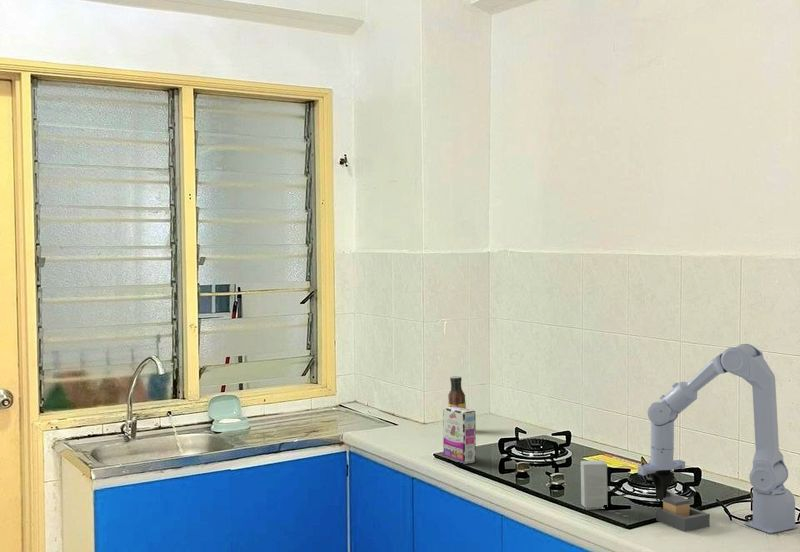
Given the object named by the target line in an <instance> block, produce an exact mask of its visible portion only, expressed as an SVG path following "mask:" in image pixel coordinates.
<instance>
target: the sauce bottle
mask: <svg viewBox="0 0 800 552" xmlns="http://www.w3.org/2000/svg"><path fill="white" fill-rule="evenodd" d="M449 378H450V379H449V380H450V391H449V393H448V395H447V397H448V403H447V404H448V407H451V406H456V407H460V408H464V409H467V405H466V395H465V392H464V391H463V388H462V379H463V378H462V376H458V375H456V376H450V377H449Z"/></svg>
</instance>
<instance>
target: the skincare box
mask: <svg viewBox="0 0 800 552" xmlns="http://www.w3.org/2000/svg"><path fill="white" fill-rule="evenodd" d="M580 493H581V494H580V499H581V501H580V503H581V504H582V505H583V506H584V507H586V508H587V507H588V508H589V507H590V508H591V507H603V506H604V505H607V506H608V465H607V463H606V462H605V461H604V460H603V459H600V460H580Z"/></svg>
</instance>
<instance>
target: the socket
mask: <svg viewBox="0 0 800 552" xmlns="http://www.w3.org/2000/svg"><path fill="white" fill-rule="evenodd" d="M655 511H656V512H655V515H656V521H657V522H659V523H661V524H664V525H667V526H669V527H672V528H674V529H677V530H680V531H681V532H683V533H685V532H690V531H695V530H701V529H705V528H710V526H711V522H710V520H711V516H710V515H711V514H710V513H707V512H704V511H702V510H699V509H697V508H694V507H691V506H690V516H687V517H683V516H681V515H678V514H675V513H673V512H670V511H667V510H665V509H663V507H657V508H656V509H655Z"/></svg>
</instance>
